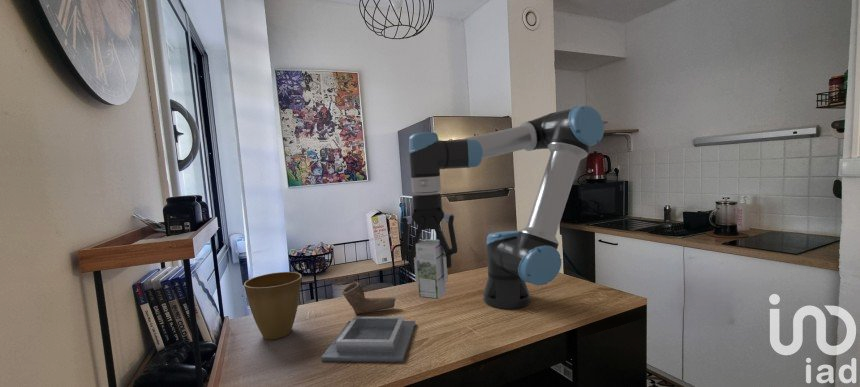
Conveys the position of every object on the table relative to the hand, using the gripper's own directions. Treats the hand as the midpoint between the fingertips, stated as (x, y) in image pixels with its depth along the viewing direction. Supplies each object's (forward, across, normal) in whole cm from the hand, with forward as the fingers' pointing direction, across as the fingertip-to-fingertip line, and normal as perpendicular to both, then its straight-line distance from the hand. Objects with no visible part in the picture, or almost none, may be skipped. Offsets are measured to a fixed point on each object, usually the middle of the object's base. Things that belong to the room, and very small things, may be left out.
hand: (431, 279), depth 92 cm
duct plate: (+16, -16, -2) cm, 23 cm away
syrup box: (+4, 0, 0) cm, 4 cm away
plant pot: (+15, -46, +2) cm, 48 cm away
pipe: (+16, -22, +16) cm, 32 cm away
